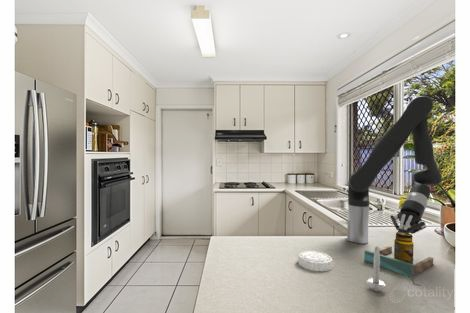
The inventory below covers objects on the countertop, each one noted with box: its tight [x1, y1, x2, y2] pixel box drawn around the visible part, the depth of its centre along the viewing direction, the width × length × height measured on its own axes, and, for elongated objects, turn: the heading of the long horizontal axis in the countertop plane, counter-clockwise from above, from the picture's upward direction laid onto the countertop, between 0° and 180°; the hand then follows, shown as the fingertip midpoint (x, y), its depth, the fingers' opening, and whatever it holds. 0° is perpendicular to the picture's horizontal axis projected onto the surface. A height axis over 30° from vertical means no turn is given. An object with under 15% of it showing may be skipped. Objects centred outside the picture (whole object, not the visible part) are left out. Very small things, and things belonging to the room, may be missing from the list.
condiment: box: [393, 231, 414, 265], centre depth 99 cm, size 7×8×12 cm
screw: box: [366, 246, 386, 292], centre depth 79 cm, size 13×5×5 cm
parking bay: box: [363, 245, 434, 278], centre depth 101 cm, size 20×16×4 cm
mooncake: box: [297, 250, 333, 272], centre depth 97 cm, size 12×12×4 cm
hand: (399, 238), depth 102 cm, fingers closed
